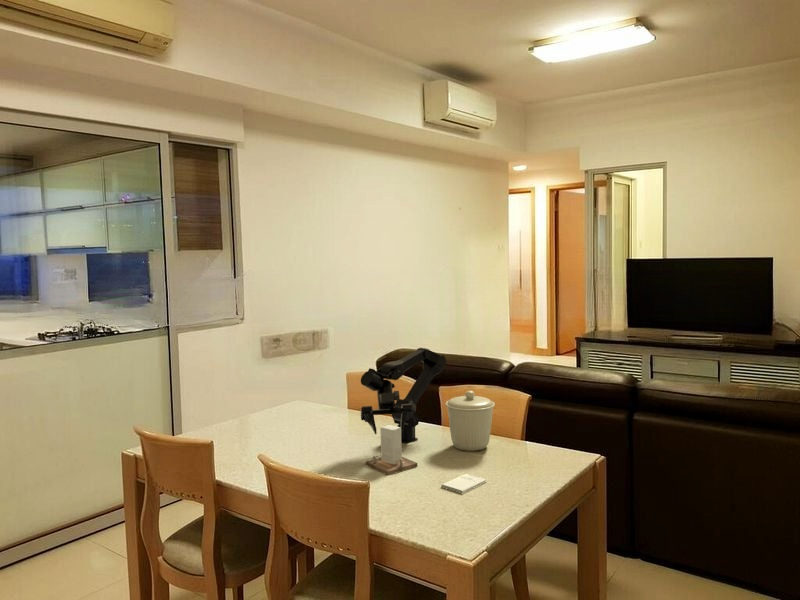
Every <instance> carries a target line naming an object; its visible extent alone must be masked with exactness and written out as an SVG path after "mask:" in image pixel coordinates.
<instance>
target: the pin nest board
mask: <svg viewBox="0 0 800 600" xmlns="http://www.w3.org/2000/svg"><path fill="white" fill-rule="evenodd" d="M365 465H366V466H367V467H369V468H372V469H374V470H376V471H378V472H380V473H382V474H384V475H385V476H389V474H390V475H392V474H396V472H397V473H399V472H403V470H404V471H406V470H409V469H413V468H417V467H418V462H417V461H415V460H414V461H413V460H411V459H408V458H406V457H404V456H402V459H400V463H397V464H395V465H393V464H389V463H385V462H381V457H378V458H377V455H373V457H372V459H370V460H366V461H365Z"/></svg>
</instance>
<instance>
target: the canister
mask: <svg viewBox="0 0 800 600" xmlns="http://www.w3.org/2000/svg"><path fill="white" fill-rule="evenodd" d="M495 404H496V403H495V402H494V401H492V400H491V399H489V398H488V397H485V396H480V395H479V396H477V395H475V392H474V391H473V390H467V391H465V394H464V395H461V396H455V397H452V398H450V399H449V400H447V401H446V402H445V406H446V409H447V414H448V423H449V424H448V425H449V432H450V437H451V442H452V445H453V447H455V448H456V449H459V450H461V451H464V452H465V451H468V452H475V451H476V450H477V451H481V450H484V449H486V448H487V447H488V445H489V442H490V438H491V430H492V421H493V411H494V410H493V409H494V407H495V406H496V405H495Z"/></svg>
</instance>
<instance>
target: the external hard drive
mask: <svg viewBox="0 0 800 600" xmlns="http://www.w3.org/2000/svg"><path fill="white" fill-rule="evenodd" d="M485 481H486V482H487V479H486V478H483V477H480V476H477V475H473V474H469V473H465V474H464V473H463V474H462V475H460V476H457V477H456V478H453V479H451V480H449V481H446V482H444V483H442V484H441V485H440V486H441V488H442V487H444V488H443V489H445V488H447V489H446V490H448V489H450V490H449V491H451V490H454V491H457V492H456V493H458V492H460V493H459V494H461V493H464V494H466V493H468V492H470V491H471V490H470V489H472V488H474V487H476V486H478V485H480V484H482V483H483V482H485ZM482 485H483V484H482ZM480 486H481V485H480ZM478 487H479V486H478ZM476 488H477V487H476ZM474 489H475V488H474ZM469 490H470V491H469ZM472 490H473V489H472ZM454 491H453V492H454ZM467 491H468V492H467ZM465 492H466V493H465Z"/></svg>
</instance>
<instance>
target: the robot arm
mask: <svg viewBox="0 0 800 600" xmlns="http://www.w3.org/2000/svg"><path fill="white" fill-rule="evenodd" d="M421 362H422V371H421V372H420V374H419V375H418V377H417V378H416V380H415V382H414V383H413V385H412V387H410V390H409V391H408V393H407V394H406V396H405V397H404V398H403V399H401V398H400V396H401V395H400V391H399V390H393V389H394V388H395V387H396V385H395V384H394V383H392V381H391V380H393V381H398V380H399V379H401V378H402V377H403V376H404V375H405V373H406V371H407V370H409V369H411V368H412V367H414V366H415V365H417V364H419V363H421ZM446 366H447V360H446V357H445V355H443V354H438V353H436V352H434V351H432V350H431V349H429V348H425V347H424V348H423V347H418V348H417V349H416V350H415V351H412V352H411V353H409V354H407V355H405V356H403V357H402V358H400V359H398V360H393V361H392V360H391V361H389V362H385V363H383V364H382V365H381V366H380V368H378V369H377V370H375V369H374V368H368V370H367V371H365V372H364V373H363V375H361V378H360V383H361V385H362V386H364V387H365V388H367V389H369V390H370V391H372V392H376V393H377V394H376V395H377V396H376V397H377V404H378V405H377V406H378V409H377V408H376V409H375V408H374V409H373V406H372V405H365V406H363V405H362V406H361V407H360V420H361V421H364V423H368V425H369V426H370V428H371V429H372V431H373V432H374V435H377V433H378V432H377V426H376V421H375V416H381V415H382V416H383V415H391V417H392V420H393V423H394V424H395V425H397V427H401V443H404V444H407V443H411V442H416V441H418V438H417V437H416V426H418V425H419V422H420V418H418V417H417V416H416V412H417V404H418V402H419V400H420V399H421V397H422V396H423V394H424V393H425V391H426V390H427V388H428V386H429V385H430V383H431V382H432V380H433V378H434V377H436V375H439V374H440V373H441V372H442V371H443V370H444V369H445V368H446Z"/></svg>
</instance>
